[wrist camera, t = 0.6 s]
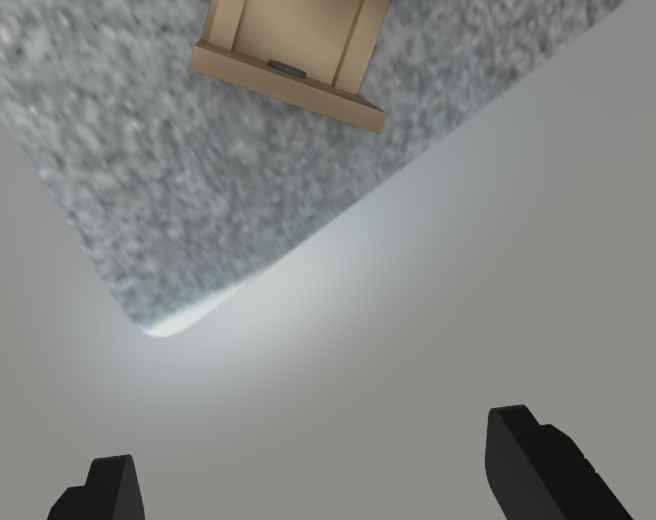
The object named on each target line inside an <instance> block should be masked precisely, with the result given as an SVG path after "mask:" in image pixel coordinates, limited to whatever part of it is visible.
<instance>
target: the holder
mask: <svg viewBox="0 0 656 520" xmlns="http://www.w3.org/2000/svg"><path fill="white" fill-rule="evenodd" d="M390 2H391V0H211V3H210V7H209V11H208V15H207V18H206V22H205V26H204V30H203V33H202V37H201V39H200V40H199V41H198V42H197V43H196V44H195V46H194V50H193V53H192V57H191V61H190V65H189V68H188V69H190V70H193V71H196V72H199V73H202V74H205V75H208V76H211V77H214V78H217V79H219V80H222V81H225V82H228V83H231V84H234V85H237V86H240V87H243V88H246V89H249V90H252V91H255V92H257V93H260V94H263V95H266V96H269V97H272V98H275V99H278V100H281V101H284V102H287V103H290V104H292V105H295V106H298V107H301V108H304V109H307V110H310V111H313V112H316V113H319V114H322V115H325V116H327V117H330V118H333V119H336V120H339V121H342V122H345V123H348V124H351V125H354V126H357V127H360V128H362V129H365V130H368V131H371V132H374V133H377V134H380V131H381V129H382V126H383V123H384V121H385V118H386V115H387V113H385V112H384V111H382V110H381V109H379V108H378V107H376V106H374V105H373V104H371V103H370V102H368V101H367V100H365V99H364V98H362V97H360V96H359V95H357V94H358V91H359V88H360V86H361V83H362V80H363V77H364V74H365V72H366V69H367V66H368V63H369V60H370V58H371V55H372V52H373V49H374V46H375V44H376V41H377V38H378V35H379V32H380V30H381V27H382V24H383V21H384V18H385V16H386V13H387V10H388V7H389V4H390Z"/></svg>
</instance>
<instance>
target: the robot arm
mask: <svg viewBox="0 0 656 520" xmlns="http://www.w3.org/2000/svg"><path fill="white" fill-rule="evenodd" d="M485 469H486V475H487V479H488V482H489V485H490V488H491V490H492V492H493V494H494V496H495V497H496V499H497V501H498V503H499V505H500V507H501V509H502V510H503V513H504V514H505V517H506V518H507V520H633V519H632V517H631V516H630V515H629V514H628V512H627V511H626V510H625V508H624V507H623V506H622V504H621V503H620V502H619V500H618V499H617V498H616V496H615V495H614V494H613V492H612V491H611V490H610V489H609V487H608V486H607V485H606V484H605V482H604V481H603V479H602V478H601V477H600V475H599V474H598V473H595V469H594V468H593V466H592V465H591V464H590V462H589V461H588V460H587V459H585V458H584V455H583V453H582V452H581V451H580V449H579V448H578V447H577V445H576V444H575V443H574V442H573V440H572V439H571V438H570V437H569V436H567V435H566V434H564V433H563V432H561V431H560V430H558V429H557V428H556V427H554V426H553V425H551V424H547V425H539V423H538V422H537V420H536V419H535V418H534V416H533V415H532V413H531V412H530V411H529V409H528V408H527V407H526V406H525V405H514V406H506V407H499V408H492V409H491V410H490V411H489V416H488V426H487V439H486V451H485ZM47 520H145V514H144V507H143V502H142V498H141V493H140V489H139V484H138V480H137V476H136V471H135V466H134V462H133V459H132V456H131V455H130V454H128V455H120V456H113V457H105V458H97V459H94V460H93V462H92V464H91V467H90V470H89V473H88V477H87V480H86V483H85V485H84V486H77V487H69V488H67V490H66V491H65V492H64V493H63V494H62V496H61V497H60V498H59V499H58V500H57V502H56V503H55V504H54V505H53V506H52V508H51V510H50V513H49V515H48V518H47Z"/></svg>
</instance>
